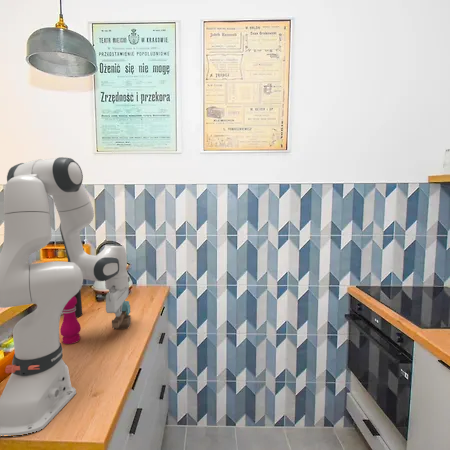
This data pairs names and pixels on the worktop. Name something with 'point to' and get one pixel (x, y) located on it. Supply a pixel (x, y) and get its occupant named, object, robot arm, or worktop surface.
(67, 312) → the pepper mill
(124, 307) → the rider
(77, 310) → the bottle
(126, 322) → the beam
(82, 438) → the worktop surface
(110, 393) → the worktop surface
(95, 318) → the worktop surface
